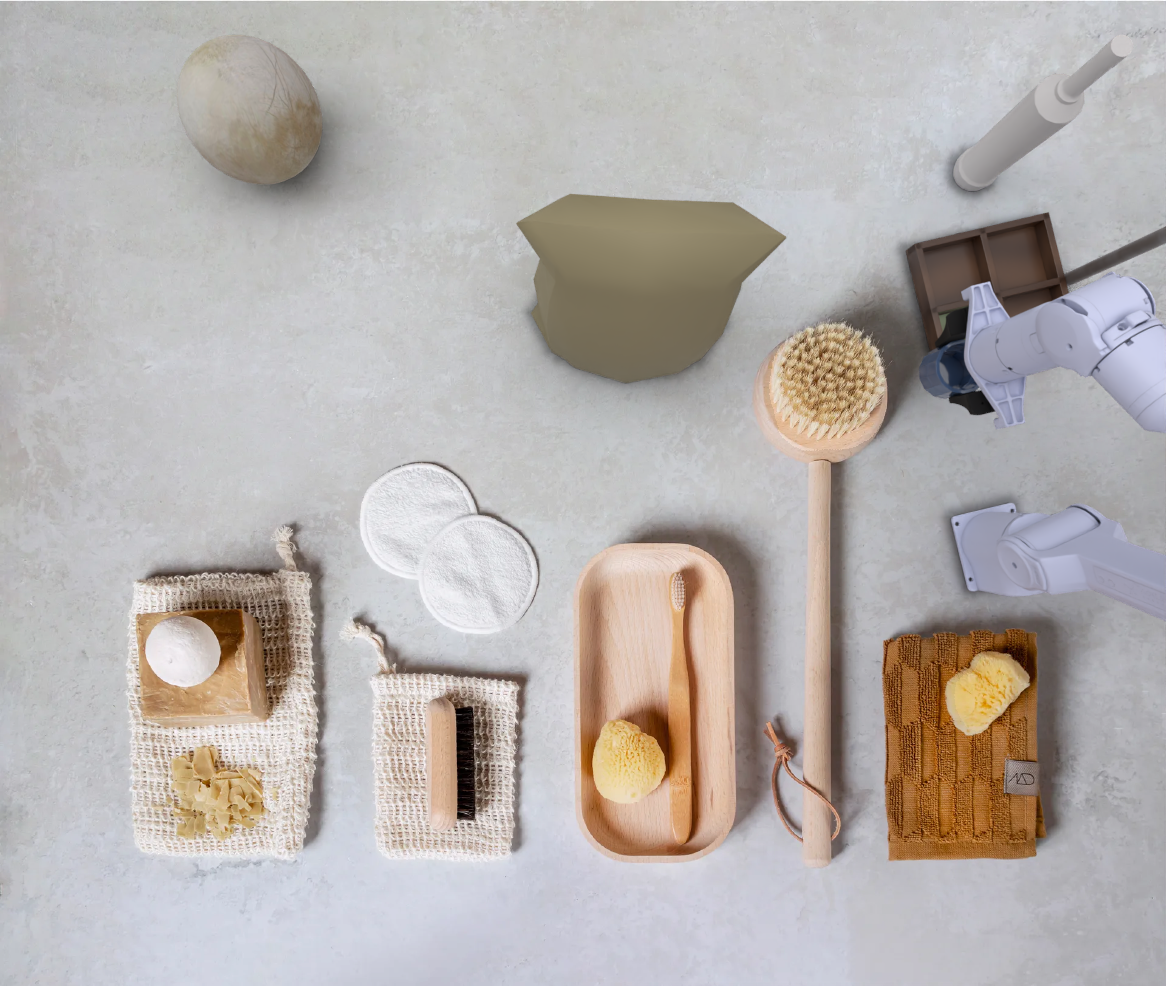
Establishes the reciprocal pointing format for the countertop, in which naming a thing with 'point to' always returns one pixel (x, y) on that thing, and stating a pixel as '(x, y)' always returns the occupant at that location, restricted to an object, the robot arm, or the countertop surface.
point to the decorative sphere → (249, 109)
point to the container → (640, 279)
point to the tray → (1002, 268)
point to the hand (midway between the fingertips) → (950, 371)
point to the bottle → (1035, 118)
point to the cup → (946, 371)
